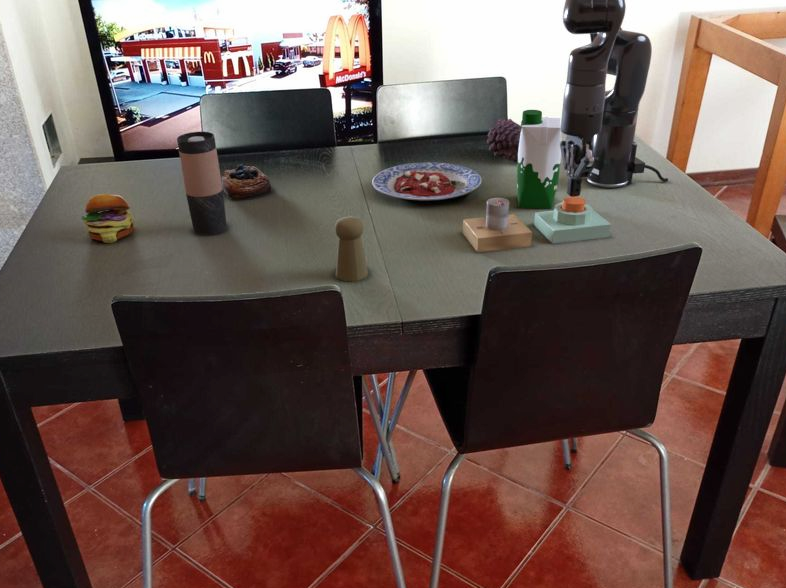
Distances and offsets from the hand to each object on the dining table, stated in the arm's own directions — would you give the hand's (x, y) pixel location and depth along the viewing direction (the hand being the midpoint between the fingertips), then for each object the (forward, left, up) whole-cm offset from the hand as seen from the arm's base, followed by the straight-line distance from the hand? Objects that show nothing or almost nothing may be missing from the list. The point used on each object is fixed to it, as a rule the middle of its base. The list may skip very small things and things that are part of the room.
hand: (573, 195), depth 152 cm
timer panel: (+16, 0, -8) cm, 18 cm away
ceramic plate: (+22, -33, -8) cm, 40 cm away
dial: (+16, 0, -5) cm, 16 cm away
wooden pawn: (+47, +8, -8) cm, 48 cm away
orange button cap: (0, 0, -3) cm, 3 cm away
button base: (0, 0, -8) cm, 8 cm away
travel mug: (+73, -22, -8) cm, 76 cm away
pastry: (+64, -44, -8) cm, 78 cm away
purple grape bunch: (-4, -50, -8) cm, 51 cm away
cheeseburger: (+94, -25, -8) cm, 97 cm away
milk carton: (+1, -17, -8) cm, 19 cm away
